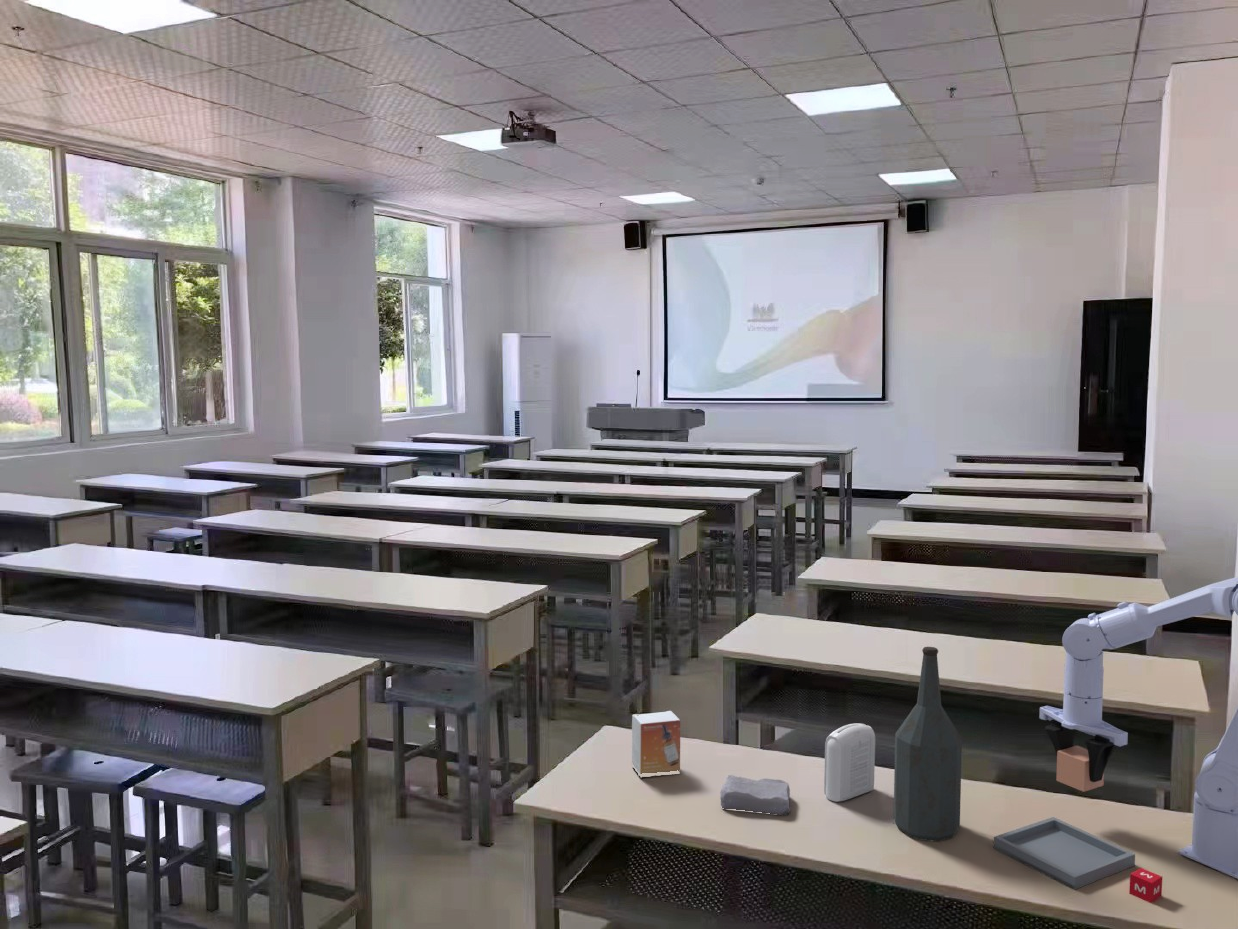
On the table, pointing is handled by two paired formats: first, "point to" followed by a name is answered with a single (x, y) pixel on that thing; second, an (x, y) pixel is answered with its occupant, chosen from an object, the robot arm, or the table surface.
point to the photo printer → (849, 762)
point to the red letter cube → (1145, 885)
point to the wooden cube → (1075, 769)
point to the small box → (656, 742)
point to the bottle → (928, 763)
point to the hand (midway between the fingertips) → (1080, 774)
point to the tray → (1064, 852)
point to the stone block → (755, 795)
